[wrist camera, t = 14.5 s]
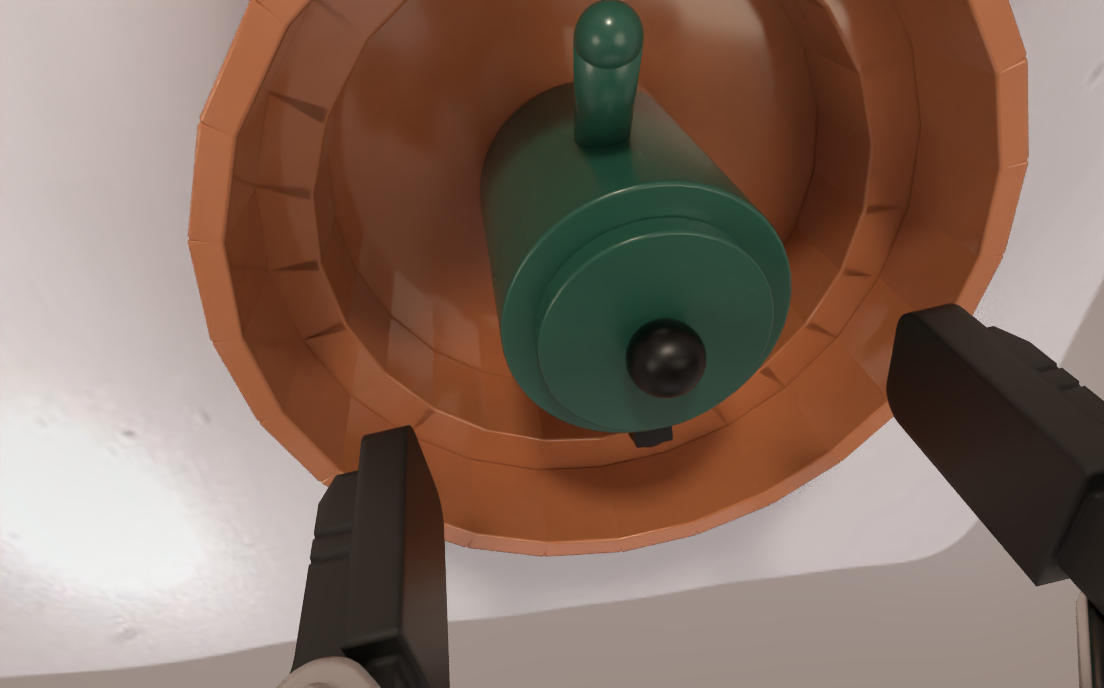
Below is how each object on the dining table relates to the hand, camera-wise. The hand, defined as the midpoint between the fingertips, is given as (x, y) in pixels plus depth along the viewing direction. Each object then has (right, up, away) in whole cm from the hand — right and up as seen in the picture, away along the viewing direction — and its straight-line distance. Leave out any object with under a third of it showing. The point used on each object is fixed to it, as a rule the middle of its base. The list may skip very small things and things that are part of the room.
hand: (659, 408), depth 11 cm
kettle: (-1, +5, +7) cm, 9 cm away
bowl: (-1, +5, +7) cm, 9 cm away
